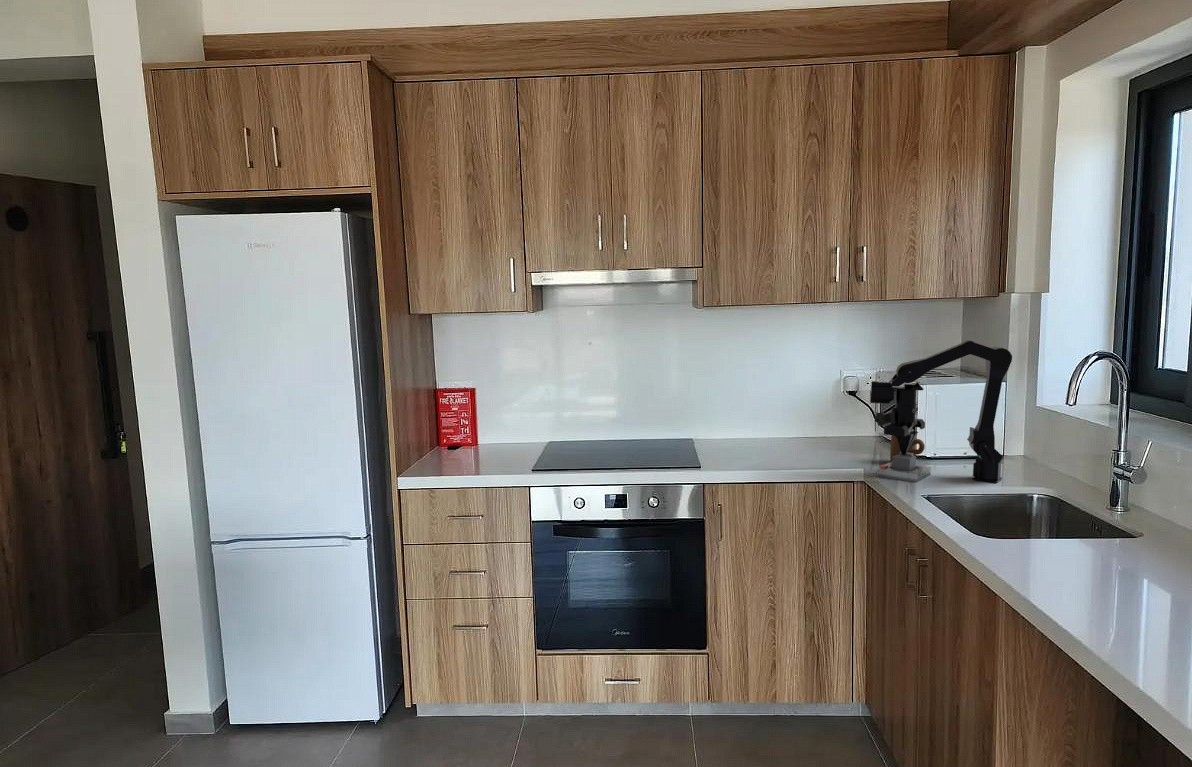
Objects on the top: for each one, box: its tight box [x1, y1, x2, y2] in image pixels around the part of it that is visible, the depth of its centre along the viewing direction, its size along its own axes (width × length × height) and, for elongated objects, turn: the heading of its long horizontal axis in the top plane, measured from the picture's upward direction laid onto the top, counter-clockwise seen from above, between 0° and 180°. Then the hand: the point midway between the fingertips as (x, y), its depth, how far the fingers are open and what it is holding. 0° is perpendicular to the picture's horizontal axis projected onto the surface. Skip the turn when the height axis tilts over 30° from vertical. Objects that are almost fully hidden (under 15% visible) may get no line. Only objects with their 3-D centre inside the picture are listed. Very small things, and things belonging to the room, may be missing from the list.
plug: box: [892, 452, 917, 472], centre depth 228 cm, size 5×5×6 cm
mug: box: [889, 435, 926, 462], centre depth 241 cm, size 12×8×9 cm, turn 26°
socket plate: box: [876, 462, 932, 483], centre depth 228 cm, size 12×12×3 cm
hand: (903, 454), depth 228 cm, fingers closed
